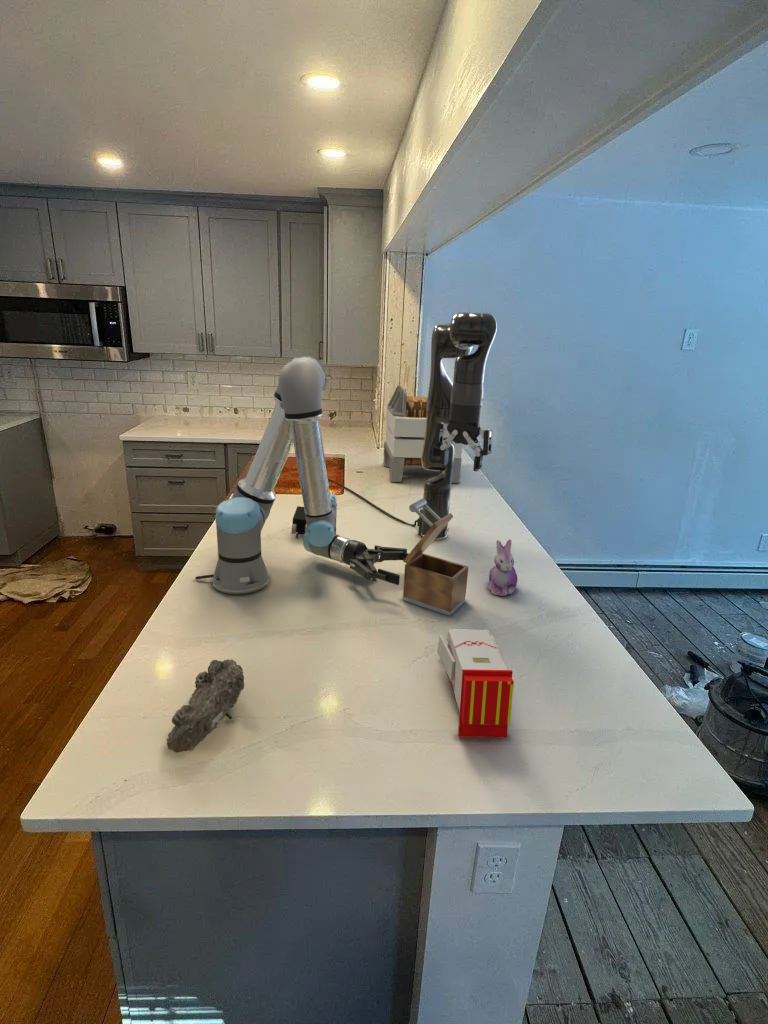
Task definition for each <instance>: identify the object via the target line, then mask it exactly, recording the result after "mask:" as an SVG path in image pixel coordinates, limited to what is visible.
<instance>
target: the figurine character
mask: <svg viewBox="0 0 768 1024" xmlns="http://www.w3.org/2000/svg"><path fill="white" fill-rule="evenodd" d="M306 529H307V524H306V518H305V510H304V506H300V505H299V506H296V509H295V512H294V514H293V516H292V524H291V535H295V538H296V539H299V535H300V536H303V538H304V537H305V536H304V535H305V533H306Z"/></svg>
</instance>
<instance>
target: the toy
mask: <svg viewBox="0 0 768 1024" xmlns="http://www.w3.org/2000/svg"><path fill="white" fill-rule="evenodd" d="M446 640H447V643H446V641H445V639H444V636H443V635H442V634H439V637H438V646H437V656H438V657H439V659H440V661H441V663H442V666H443V668H444V670H445V672H446V674H447V677H448V679H449V681H450V684H451V687H452V690H453V693H454V697H455V701H456V705H457V708H458V711H459V714H458V715H459V716H458V730H457V731H458V732H457V737H458V738H508V731H509V726H510V725H511V717H512V707H513V697H514V696H513V695H514V684H515V680H514V679H513V673H514V671H513V670H512V669H508V667H507V665H506V662H505V661H504V659H503V658H502V655H501V653H500V651H499V649H498V647H497V643H496V639H495V637H494V635H493V634H491V632H490V631H489V629H467V628H466V629H465V628H463V629H461V628H460V629H459V628H448V630H447V639H446Z"/></svg>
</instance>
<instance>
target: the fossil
mask: <svg viewBox="0 0 768 1024" xmlns="http://www.w3.org/2000/svg"><path fill="white" fill-rule="evenodd" d="M243 670H244V669H243V667H242V665H240V664H237V662H236V661H235V660H234V659H232V658H231V659H227V658H226V659H224V660H223V661H222V660H217V659H212V660H211V661H210V663H209V665H208V666H207V671H201V672H199V673H198V674H197V675H196V676H195V680H194V684H195V685H194V687H195V689H194V690H193V693H192V694H191V697H190V698H189V700H188V704H184V705H182V706H181V707H180V709H177V710H176V711H175V713H174V715H173V716H172V718H171V723H172V724H173V727H172V730H171V731H170V732H168V734H167V738H166V741H167V742H166V745H167V749H168V750H169V751H173V752H174V753H176V754H178V753H182V752H188V751H189V752H192V751H193V750H195V748H196V747H197V746H199V744H200V743H201V742H203V741H204V740H205V739H206V738H207V737H208V736H209V735H210V734H211V733H212V732H214V730H215V729H217V727H218V726H219V724H220V722H221V721H222V720H223V719H224V718H225V716H226V717H227V719H229V720H233V717H232V715H230V714H229V710H230V709H231V708H234V706H235V704H236V703H237V702H238V699H239V697H240V695H241V693H242V691H243V690H245V689H244V688H245V675H244V671H243Z"/></svg>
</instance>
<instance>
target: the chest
mask: <svg viewBox="0 0 768 1024" xmlns="http://www.w3.org/2000/svg"><path fill="white" fill-rule="evenodd" d="M468 574H469V566H468V565H466V564H461V563H458V562H454V561H451V560H448V559H443V558H440V557H437V556H435V555H430V554H428V553H427V554H426V553H424V552H423V553H422V554H420V555H419V556H418V557H416V558H415V559H413V560H412V561H410V562H409V563H407V564H406V563H405V564H404V576H403V591H402V601H404V602H407V603H411V604H413V605H416V606H419V607H422V608H425V609H428V610H431V611H434V612H436V613H440V614H443V615H446V616H449V617H450V616H451V615H453V614H454V613H455V612H456V611H457V610H458V609H459V608H460V607H462V605H463V604H464V603H466V594H467V587H468V586H467V585H468V577H469V575H468Z"/></svg>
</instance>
